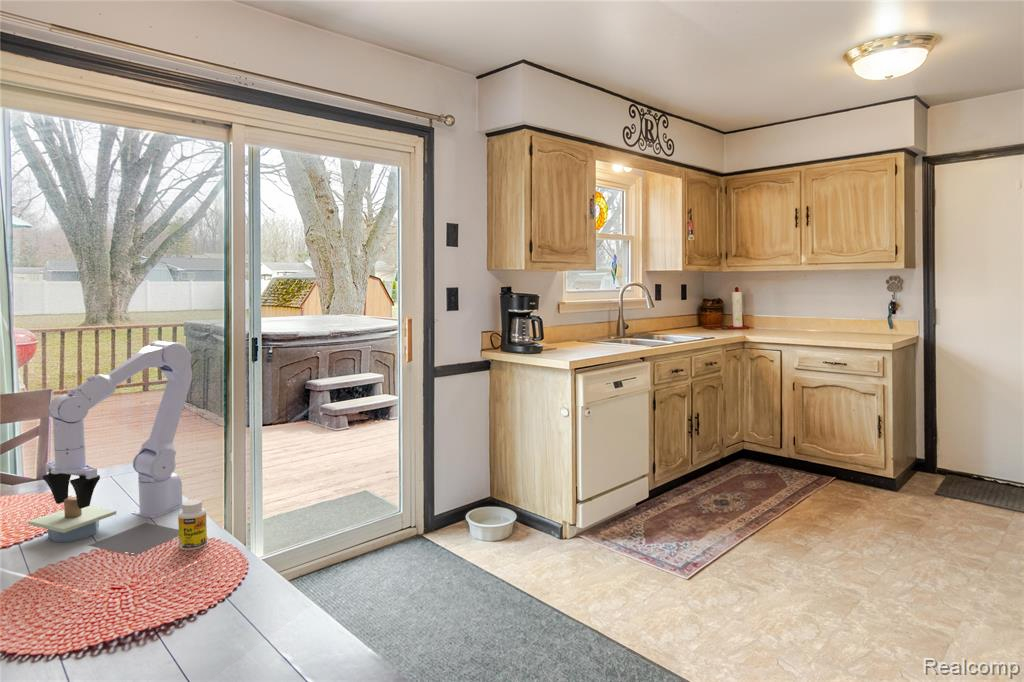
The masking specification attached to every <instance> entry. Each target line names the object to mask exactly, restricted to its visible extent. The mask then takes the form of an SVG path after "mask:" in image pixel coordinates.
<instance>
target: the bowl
mask: <svg viewBox="0 0 1024 682" xmlns="http://www.w3.org/2000/svg"><path fill="white" fill-rule="evenodd" d="M99 527H100V520H99V521H96V522H93V523H90V524H87V525H85V526H82V527H79V528H76V529H73V530H71V531H68V532H65V533H62V532H58V531H54V530H49V529H47V535H48V537H47V538H48V539H50V540H51V541H52V542H56V543H68V542H74V541H80V540H83V539H86V538H89V537H92V536H93V535H95V534H96V533H97V532H98V529H99Z"/></svg>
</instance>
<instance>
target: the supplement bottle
mask: <svg viewBox="0 0 1024 682" xmlns="http://www.w3.org/2000/svg"><path fill="white" fill-rule="evenodd" d="M177 517H178V518H177V519H178V520H177V521H178V529H179V536H178V546H179V548H180V550H184V551H191V550H192V551H193V550H197V549H200V548H202V547H204V546H206V545H207V543H208V536H207V535H208V534H207V531H208V530H207V528H208V527H207V509H205V508H204V507H203V501H202V500H201V499H196V498H195V499H189V500H185V501H182V507H181V510H180V511H179V512H178V515H177Z"/></svg>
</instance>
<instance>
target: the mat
mask: <svg viewBox="0 0 1024 682" xmlns="http://www.w3.org/2000/svg"><path fill="white" fill-rule="evenodd" d="M176 538H179V528H173V527H170V526H169V527H168V526H163V525H160V524H159V525H158V524H154V523H149V522H144V523H141V524H138V525H137V526H134V527H132V528H129V529H126V530H124V531H121V532H118V533H117V534H113V535H110V536H109V537H106V538H104V539H101V540H98V541H95V542H93V543H91V544H88V546H89V547H94V548H98V549H102V550H107V551H111V552H114V553H115V552H116V553H119V554H123V553H125V552H129V554H130V555H129V556H132V555H133V557H135V556H137V555H139V554H141V553H144V552H146V551H148V550H150V549H153V548H155V547H157V546H159V545H163V544H164V543H166V542H168V541H169V542H170V541H171V540H173V539H176ZM131 553H134V554H131Z"/></svg>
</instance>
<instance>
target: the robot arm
mask: <svg viewBox="0 0 1024 682" xmlns="http://www.w3.org/2000/svg"><path fill="white" fill-rule="evenodd" d="M192 356H193V354H192V353H191V352H190V351H189V348H188V347H186V345H184V344H183V343H180V342H169V341H164V340H155V341H152V342H151V343H150V344H149V345H145V346H143V347H142V348H141V349H140V350H139V351H138V352H137V353H135V354H133V355H132V356H131V357H130V358H128V359H127V360H125V361H124V362H122V363H121V364H120V365H118V366H116V367H115V368H114V369H113V370H111V371H109V372H108V373H107V374H100V373H97V374H95V375H89V376H87V377H86V381H85V382H83V383H81V384H79V385H78V386H77V387H75V388H69V389H68V390H67V391H66V392H67V394H63V395H62V394H60V395H57V396H55V397H54V398H53V399H52V400H51V401H50V403H49V405H48V408H46V412H47V414H48V415H49V417H51V418H52V423H53V425H52V427H53V429H52V430H53V432H52V433H53V449H54V461H50V462H46V463H44V464H45V465H44V466H45V467H44V468H45V472H46V473H47V474H44V475H42V480H44V482H45V483H46V485H48V487H49V489H50V491H51V494H52V496H53V499H54V501H55V504H57V505H59V504H64V500H65V499H67V498H69V485H70V484H71V486H72V488H73V489H74V493H75V497H76V498H77V504H78V507H79V508H80V509H82V508H85V507H88V506H90V505H91V501H92V497H93V494H94V491H95V488H96V486H97V484H98V483H99V480H100V479H101V475H99V474H98V468H95V467H92V466H91V465H90V464H88V463H87V459H86V442H85V441H86V439H85V426H84V425H85V423H84V419H85V418H86V417H87V415H88V413H89V411H90V410H91V409H93V408H95V406H97V405H98V404H100V403H102V402H103V401H105V400H106V399H107V398H109V397H110V396H112V395H113V394H115V392H116V388H117V386H118V385H120V384H121V383H123V382H125V381H127V380H128V379H130V378H132V377H133V376H135V375H137V374H139V373H140V372H141V371H143V370H145V369H146V368H147V369H148V368H158V369H160V370H161V372H162V373H163V375H164V377H165V378H166V379H167V381H166V384H165V387H164V391H163V394H162V398H161V399H160V403H159V407H158V409H157V413H156V415H155V416H156V417H155V420H154V422H153V425H152V429H151V431H150V435H149V438H148V439H147V440H146V441H144V442H143V443H142V444H141V448H140V449H139V451H138V452H137V454H136V455H135V456H134V458H133V460H132V468H133V470H134V471H135V472H136V473H137V474H138V503H139V504H138V505H139V509H137V510H134V511H131V514H132V515H136V516H141V517H146V518H152V519H154V518H158V517H160V516H162V515H165V514H167V513H169V512H173V511H176V510H178V509H180V508H181V509H182V503H183V484H182V479H181V478H180V476H179V475H178V473H175V470H176V464H177V463H176V454H177V449H176V448H175V445H174V444H173V443H174V440H175V435H176V432H177V429H178V426H179V423H180V419H181V416H182V413H183V410H184V406H185V403H186V399H187V397H188V393H189V392H190V391H189V390H190V387H191V384H192V381H193V369H192V364H191V359H192ZM72 476H76V477H77V478H73V479H71V477H72Z"/></svg>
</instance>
